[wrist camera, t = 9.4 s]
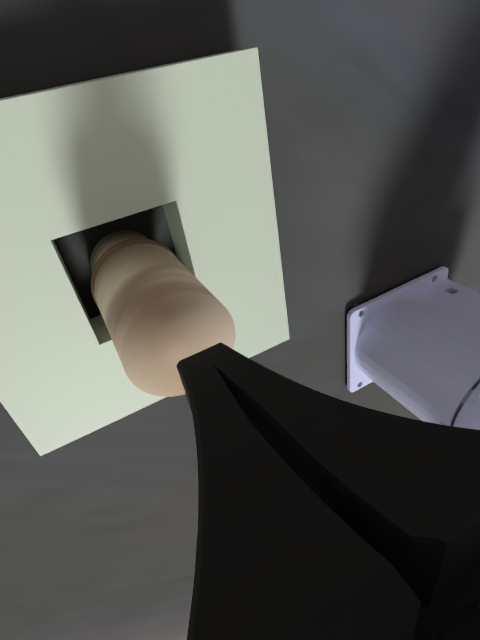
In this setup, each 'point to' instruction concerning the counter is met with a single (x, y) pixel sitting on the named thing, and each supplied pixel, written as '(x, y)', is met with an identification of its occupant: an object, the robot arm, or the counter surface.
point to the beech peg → (154, 310)
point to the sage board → (120, 201)
